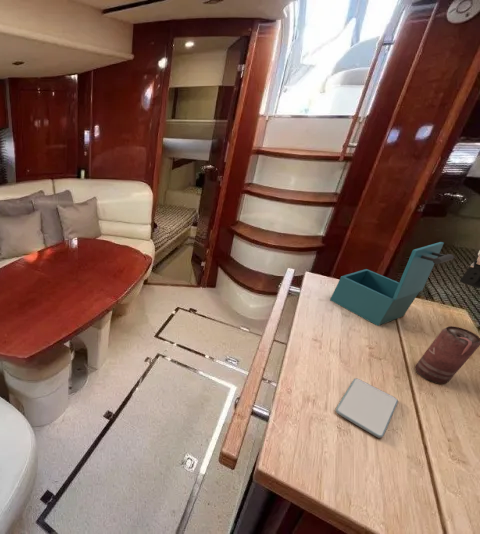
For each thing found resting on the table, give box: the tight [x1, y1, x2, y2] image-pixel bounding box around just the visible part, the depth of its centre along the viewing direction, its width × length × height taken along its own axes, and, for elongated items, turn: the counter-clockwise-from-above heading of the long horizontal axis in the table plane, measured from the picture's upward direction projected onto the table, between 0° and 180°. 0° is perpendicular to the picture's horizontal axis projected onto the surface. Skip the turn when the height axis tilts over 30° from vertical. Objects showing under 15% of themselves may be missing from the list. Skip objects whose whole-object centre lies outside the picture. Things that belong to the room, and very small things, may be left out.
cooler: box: [329, 268, 421, 327], centre depth 99 cm, size 15×13×10 cm
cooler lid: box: [393, 241, 455, 300], centre depth 85 cm, size 15×13×5 cm
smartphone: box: [335, 378, 399, 439], centre depth 70 cm, size 8×1×15 cm
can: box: [414, 325, 480, 385], centre depth 74 cm, size 6×6×14 cm
